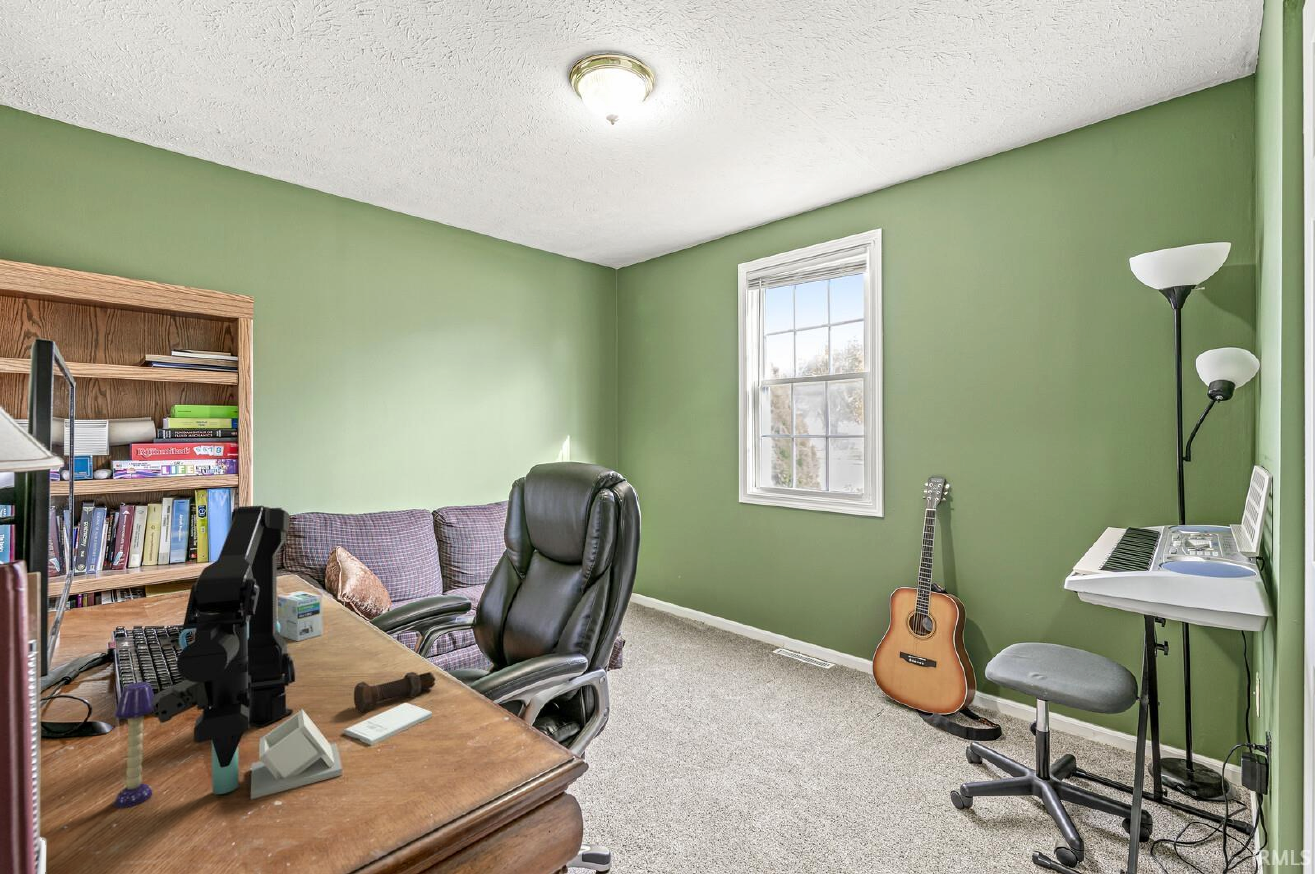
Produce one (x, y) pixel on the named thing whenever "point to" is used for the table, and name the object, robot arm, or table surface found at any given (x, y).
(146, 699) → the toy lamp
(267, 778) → the socket
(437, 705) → the table surface
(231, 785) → the dowel
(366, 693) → the bolt
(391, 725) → the external hard drive
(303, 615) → the light bulb box
